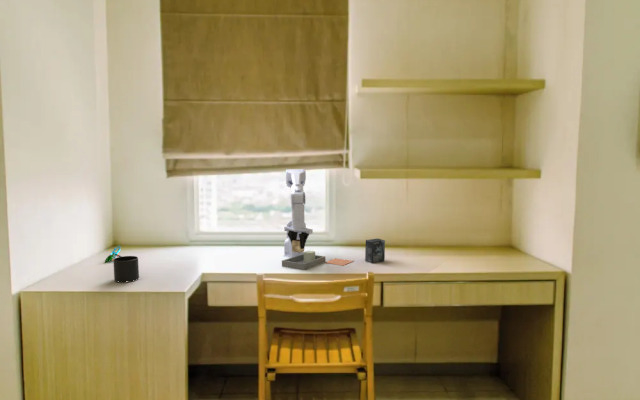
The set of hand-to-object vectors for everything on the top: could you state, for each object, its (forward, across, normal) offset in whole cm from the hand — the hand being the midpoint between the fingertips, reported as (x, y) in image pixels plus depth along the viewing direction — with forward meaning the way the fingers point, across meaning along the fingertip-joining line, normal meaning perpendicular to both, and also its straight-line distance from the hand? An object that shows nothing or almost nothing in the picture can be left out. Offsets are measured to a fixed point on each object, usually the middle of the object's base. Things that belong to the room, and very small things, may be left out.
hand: (298, 247), depth 209 cm
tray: (+9, 0, +4) cm, 10 cm away
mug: (+9, -49, -54) cm, 74 cm away
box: (+9, +25, +28) cm, 39 cm away
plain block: (+8, 0, +9) cm, 12 cm away
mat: (+9, +12, +16) cm, 22 cm away
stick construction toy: (+9, -83, -38) cm, 92 cm away
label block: (+2, 0, 0) cm, 2 cm away
